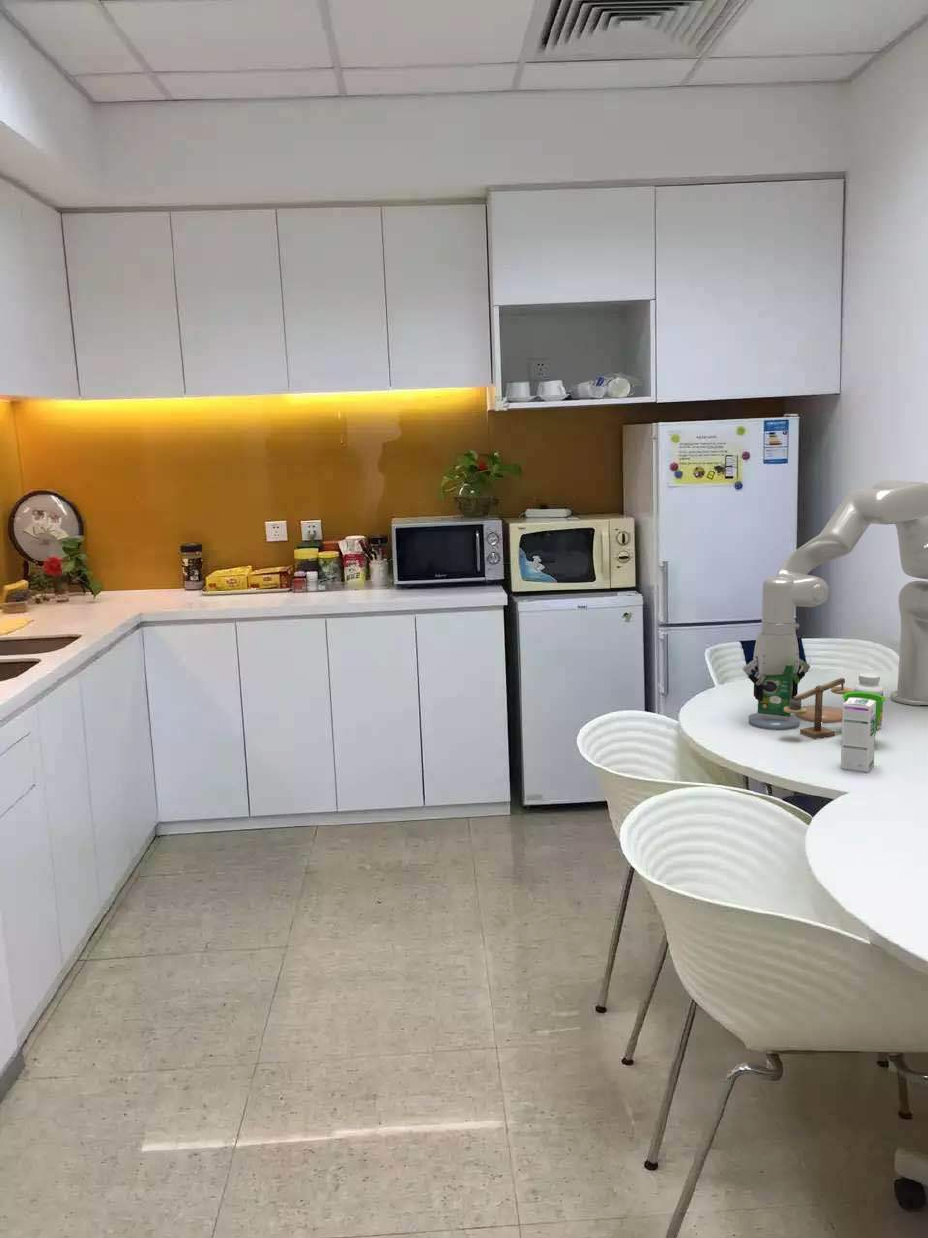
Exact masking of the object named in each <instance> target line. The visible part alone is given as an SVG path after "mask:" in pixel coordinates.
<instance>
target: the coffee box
mask: <svg viewBox="0 0 928 1238" xmlns="http://www.w3.org/2000/svg"><path fill="white" fill-rule="evenodd" d="M761 685H762V686H763V700H762V701H758V700H757V713H761V714H770V715H779V716H788V717H790V715H792V714H791V713H787V712H785V711H784V707H785V706H789V701H790V699H792V691H793V664H792V665H786V667H785V670H784V672H783V674H781V675H773V676H766V677H765V678H764V680H763V681H762V683H761Z"/></svg>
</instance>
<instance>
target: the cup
mask: <svg viewBox="0 0 928 1238" xmlns="http://www.w3.org/2000/svg"><path fill="white" fill-rule="evenodd" d="M841 697H842V699H844V700H843V703H844V702H845V701H847V700H848V698H849V697H850V698H865V699H871V700H875V701H876V719H875V736H876V734H877V730H878V729H877V726H878V722H879V717H880V713H881V709H882V704H883V705H884V702H885V701H886V698H885V697H884V695H883V696H881V695H878V694H874V693H868V692H849V693H845V694H842V696H841Z"/></svg>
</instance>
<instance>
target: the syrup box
mask: <svg viewBox="0 0 928 1238" xmlns="http://www.w3.org/2000/svg"><path fill="white" fill-rule="evenodd" d="M842 710H843V717H842V721H841V749H840V753H841V754H840V768H841V769H844V770H848V771H854V772H855V771H856V772H861V773H869V771H871V769H872V768H873V766H874V764H875V745H876V735H875V719H876V701H875V700H871V699H865V698H850V697H849V698H848V700H847V701H845V702H844V701H843V704H842Z"/></svg>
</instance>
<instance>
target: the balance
mask: <svg viewBox="0 0 928 1238" xmlns="http://www.w3.org/2000/svg"><path fill="white" fill-rule="evenodd" d="M845 683H846V678H843V677H841V678H837V679H836V680H835V679H834V680H833V681H830V682H827V683H825V684H823V685H820V684H819V685H816V686H815V688H814V687H813V689H810V690H808V691H804V692H802V693H800V694H799V693H798V694H797V695H796V696H794V697H793V699H790V701H789V706H785V707H784V711H785V712H787V713H791V715H796V714H803V713H806V708H804V707H801V706H802V700H803V701H804V700H805V699H808V698H810V697H812V696H815V700H814V705H815V717H814V723H813V726H810V727H804V728H800V729H799V734H800V735H802V736H805V737H807V738H809V737H810V738H809V739H812V738H813V739H812V740H814V739H815V740H818V739H817V738H821V739H825V738H824V737H827V738H832V737H835V736H836V731H835V730H832V729H830V728H827V727H825V726H823V725H822V723H821V722H822V705H823V697H824V696H823V695H824V694H823V693H824V692H825V691H828V690H830V692H831V693H833V694H835V695H836V694H837V695H843V694H845V693H849V692H854V688H851V687H847V686H844V685H845Z"/></svg>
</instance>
